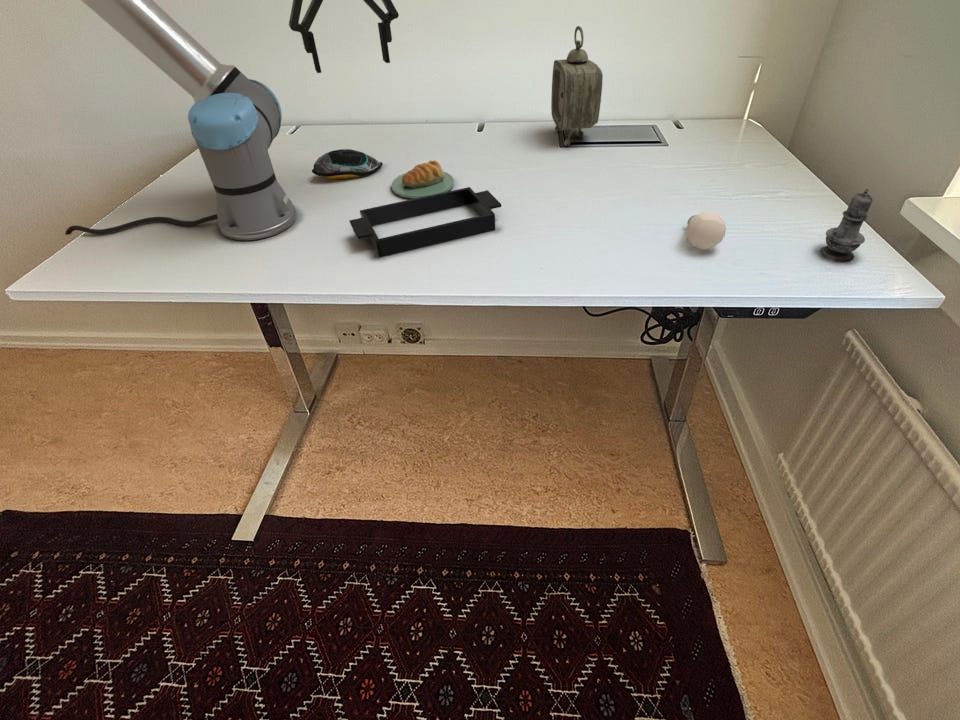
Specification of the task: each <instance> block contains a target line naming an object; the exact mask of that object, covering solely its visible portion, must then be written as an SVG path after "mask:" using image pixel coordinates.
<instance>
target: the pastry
mask: <svg viewBox="0 0 960 720" xmlns="http://www.w3.org/2000/svg"><path fill="white" fill-rule="evenodd" d="M444 172H445V171H444V169H442V166H441V164H440V163H439V162H438V161H437V160H429V161H427V162H422V163H419V164H417V165H415V166H414V167H413V168H412V169H410V170H408V171H407V172H405V173H406V174H405V173H404V174H405V175H404V176H403V178H402V184H403V185H405V186H408V187H411V188H419V187H425V186H430V185H433V184H435V183H440V182H441V181H443V179H444V178H445V175H444Z"/></svg>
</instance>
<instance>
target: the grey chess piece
mask: <svg viewBox="0 0 960 720" xmlns="http://www.w3.org/2000/svg"><path fill="white" fill-rule="evenodd" d="M873 200H874V199H873V196H871V195H870V194H869V188H865V189H864V190H863V192H859V193H856V194H854V195H853V196H852V197H851V200H850V202H849V204H848V206H847V208H846V210H844V211H842V219H841V221H840V223H839V225H838V226H836V227H830V228H828V229H827V230H826V231H825V236H826V237H825V243H826V245H825V246H823V247H821V248H820V249H819V253H820V255H821V256H822V257H824V258H825V259H827V260H829V261H832V262H838V263H849V262H852V261H853V260H854V259H855V255H854V253H853V252H854V251H856V250H857V249H858V248H859V247H860V246H861V245H862V244H864V243H865V241H866V238H865V236H864V235H863V234H862V233H860V231H861V228H862V226H863V224H864V221H867V219H868V215H867V214H868V212H869V210H870V208H871V206H872V203H873Z"/></svg>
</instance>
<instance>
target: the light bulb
mask: <svg viewBox="0 0 960 720" xmlns="http://www.w3.org/2000/svg"><path fill="white" fill-rule="evenodd" d="M726 226H727V225H726V222H725V221H724V219H723V218H722V217H721V215H720V214H718V213H716V212H713V211H702V212H699V213H697V214H694V215H691V216H690V217H689V218H688V220H687V224H686V231H685V233H686V237H687V241H688V242H689V244H690V245H691V246H692V247H694V248H697V249H699V250H710V249H713V248H715V247H717V246H718V245H719V244H720V243H721V242H722V241H723V239H724V238H725V236H726V231H727V227H726Z"/></svg>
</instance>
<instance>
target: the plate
mask: <svg viewBox="0 0 960 720" xmlns="http://www.w3.org/2000/svg"><path fill="white" fill-rule="evenodd" d="M443 172H444V175H445V178H444V179H443V181H441V182H440V183H435V184H433V185H430V186H425V187H419V188H411V187H408V186H405V185H403V184H402V178H403V176H404V175H405V174H406V173H407V172H405V173H402V174H400V175H398V176H397V177H395V178H394V179H393V180H392V182H391V190H392V192H393V193H394V194H396V195H397V196H399V197H401V198H406V199H416V198H420V197H425V196H430V195H434V194H439V193H444V192H448V191H451V190H452V188H453V187H454V185H455V180H454V177H453V176H452V175H451V174H450V173H448V172H446V171H443Z"/></svg>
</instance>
